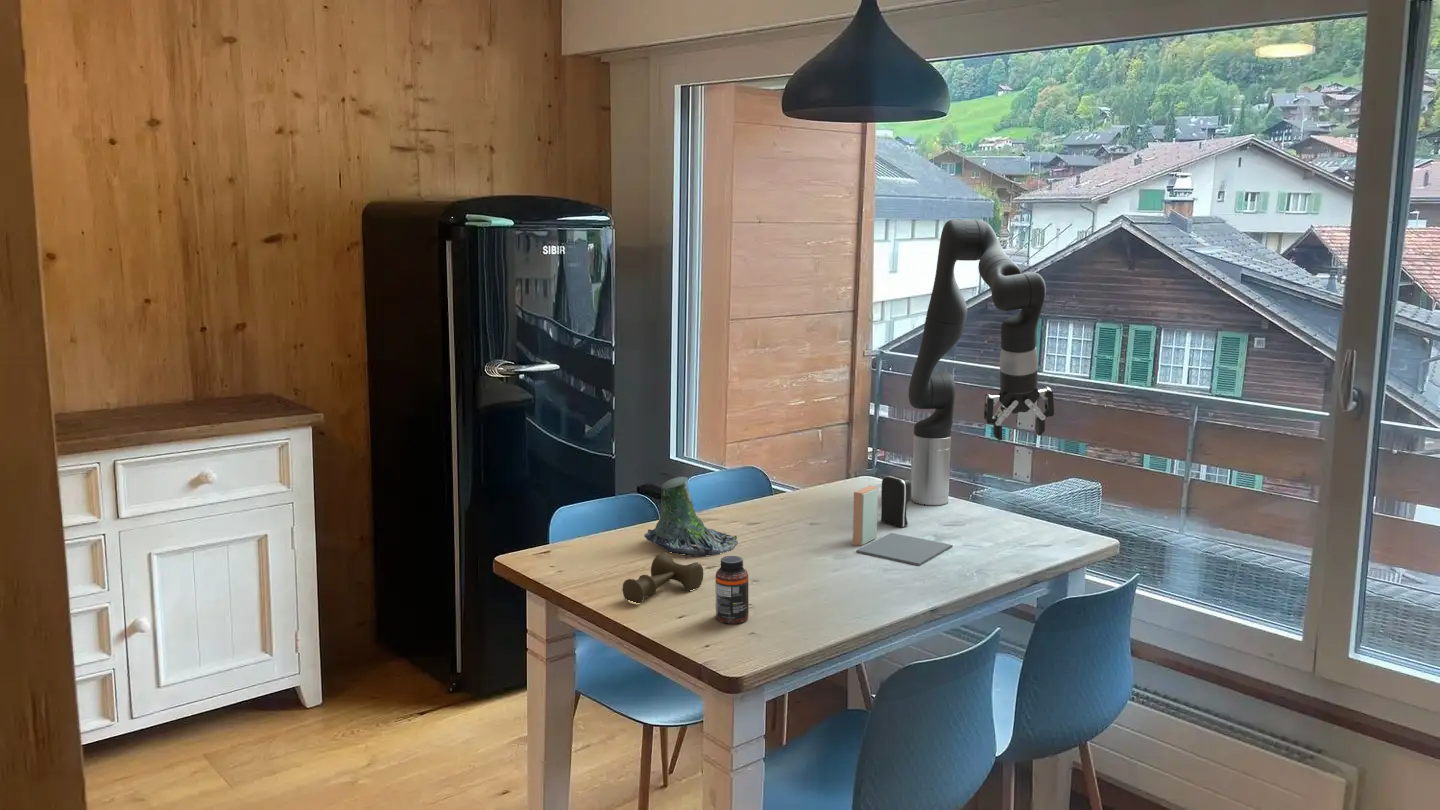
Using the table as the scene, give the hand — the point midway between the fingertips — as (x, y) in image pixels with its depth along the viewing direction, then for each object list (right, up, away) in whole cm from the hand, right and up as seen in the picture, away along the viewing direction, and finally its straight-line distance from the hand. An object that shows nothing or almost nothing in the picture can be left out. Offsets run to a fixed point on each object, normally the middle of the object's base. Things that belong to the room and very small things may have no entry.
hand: (1018, 436), depth 226 cm
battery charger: (-22, -22, +24) cm, 39 cm away
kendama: (-75, -30, -21) cm, 83 cm away
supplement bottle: (-62, -32, -35) cm, 78 cm away
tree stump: (-70, -25, +7) cm, 75 cm away
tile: (-32, -24, +11) cm, 41 cm away
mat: (-24, -25, +5) cm, 35 cm away
